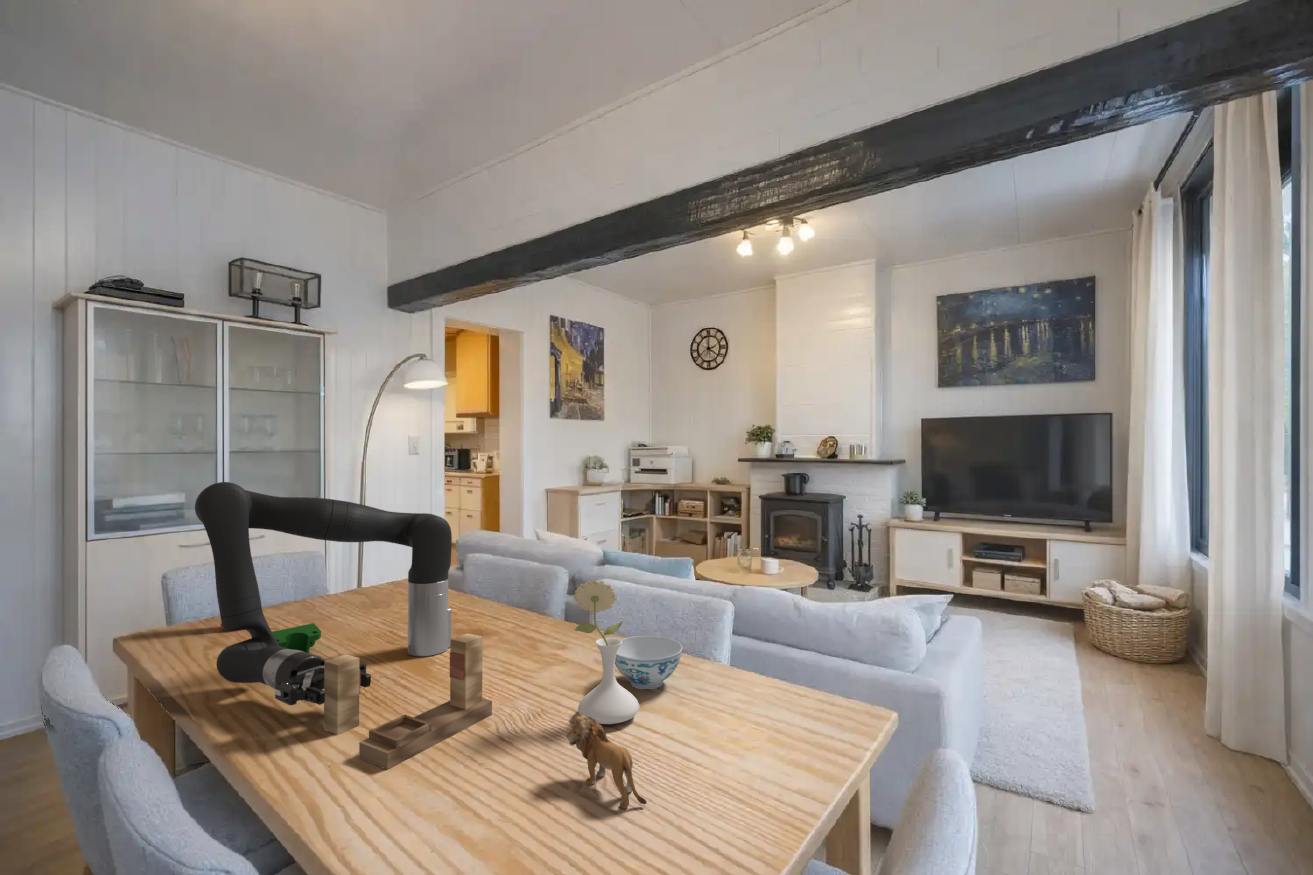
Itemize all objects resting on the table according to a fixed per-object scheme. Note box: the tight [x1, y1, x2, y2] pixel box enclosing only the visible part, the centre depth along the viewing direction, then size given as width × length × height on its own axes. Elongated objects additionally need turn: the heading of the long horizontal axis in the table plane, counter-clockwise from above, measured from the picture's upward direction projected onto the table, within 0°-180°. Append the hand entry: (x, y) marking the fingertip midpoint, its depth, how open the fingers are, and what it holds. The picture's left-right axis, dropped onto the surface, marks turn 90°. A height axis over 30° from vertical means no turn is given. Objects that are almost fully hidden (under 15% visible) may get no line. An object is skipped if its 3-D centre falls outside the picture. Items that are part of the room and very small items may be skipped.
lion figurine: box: [565, 714, 648, 809], centre depth 88 cm, size 15×5×9 cm, turn 51°
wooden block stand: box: [358, 632, 493, 770], centre depth 104 cm, size 22×7×14 cm, turn 150°
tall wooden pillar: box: [323, 654, 361, 735], centre depth 107 cm, size 4×4×12 cm
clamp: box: [272, 622, 322, 654], centre depth 145 cm, size 12×6×9 cm, turn 134°
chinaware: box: [615, 635, 683, 690], centre depth 127 cm, size 15×15×8 cm
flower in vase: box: [572, 579, 640, 725], centre depth 112 cm, size 13×11×25 cm
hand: (346, 689), depth 106 cm, fingers open, 8 cm apart
